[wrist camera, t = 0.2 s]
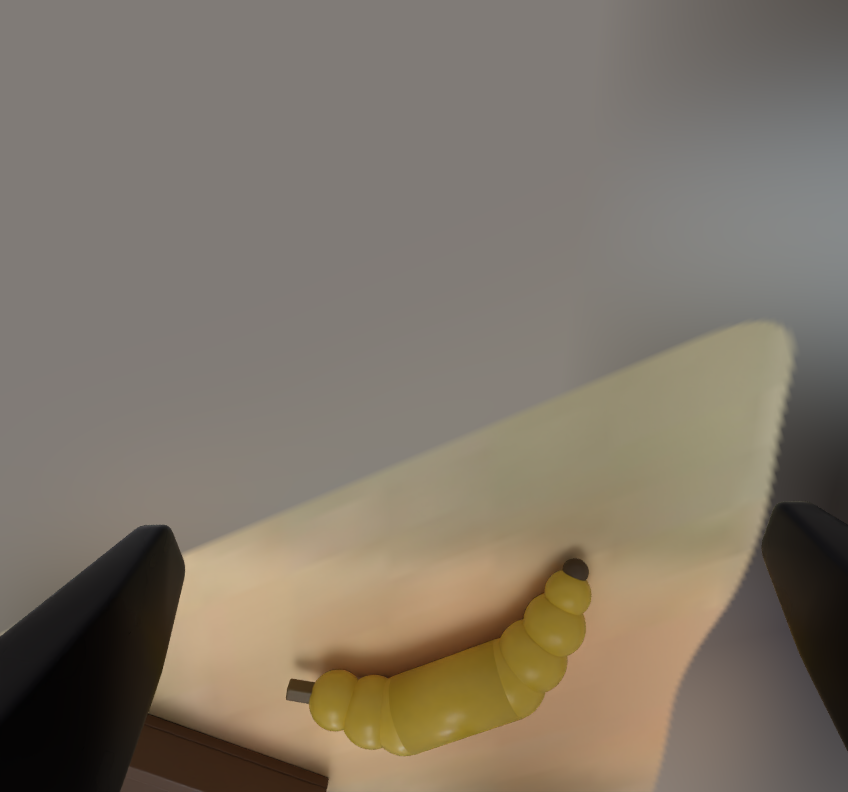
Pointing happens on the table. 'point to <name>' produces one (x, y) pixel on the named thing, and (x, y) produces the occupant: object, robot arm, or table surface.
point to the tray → (207, 765)
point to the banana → (459, 680)
